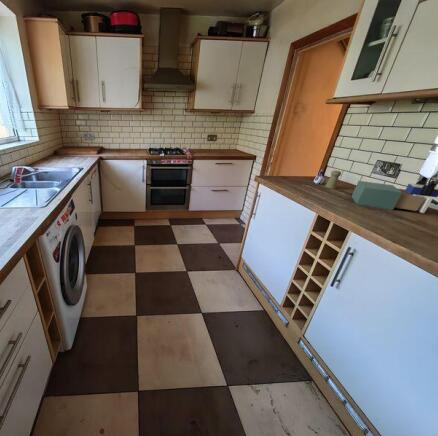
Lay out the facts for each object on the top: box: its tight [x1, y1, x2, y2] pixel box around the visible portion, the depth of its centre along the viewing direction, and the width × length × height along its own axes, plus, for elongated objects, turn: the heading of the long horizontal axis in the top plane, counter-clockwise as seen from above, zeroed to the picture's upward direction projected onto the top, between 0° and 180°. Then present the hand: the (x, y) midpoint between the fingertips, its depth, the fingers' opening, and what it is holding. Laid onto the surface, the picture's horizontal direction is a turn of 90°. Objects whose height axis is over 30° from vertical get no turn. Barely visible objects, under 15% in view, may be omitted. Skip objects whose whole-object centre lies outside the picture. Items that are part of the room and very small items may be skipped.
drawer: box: [394, 187, 438, 214], centre depth 117 cm, size 18×13×8 cm
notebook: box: [405, 183, 438, 198], centre depth 96 cm, size 8×6×3 cm
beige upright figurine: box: [324, 169, 342, 190], centre depth 148 cm, size 6×6×11 cm
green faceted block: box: [351, 180, 402, 211], centre depth 123 cm, size 15×15×10 cm
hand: (421, 192), depth 96 cm, fingers closed on notebook, 5 cm apart
